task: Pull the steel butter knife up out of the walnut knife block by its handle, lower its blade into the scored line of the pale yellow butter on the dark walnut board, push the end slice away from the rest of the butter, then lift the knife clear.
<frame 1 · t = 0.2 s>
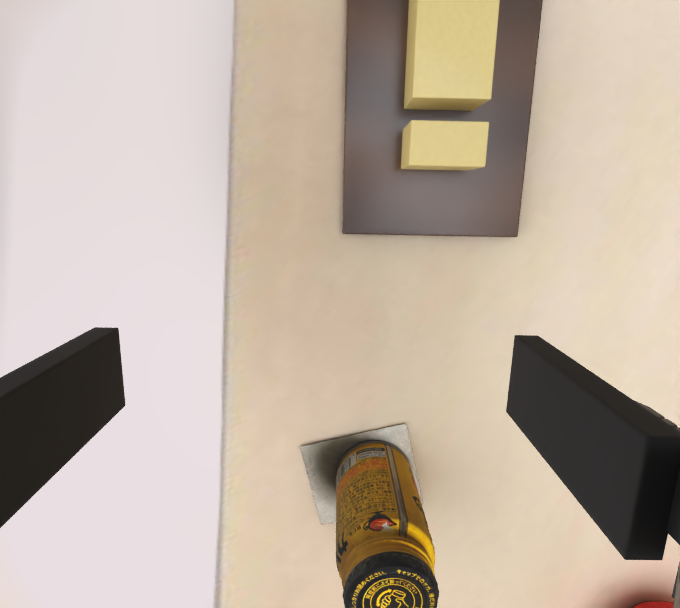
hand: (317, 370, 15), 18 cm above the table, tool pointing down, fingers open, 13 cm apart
butter board: (435, 113, 30), on the table
butter slice: (435, 150, 30), point 1 cm above the table, touching butter board
butter block: (442, 50, 28), point 1 cm above the table, touching butter board
condiment: (362, 472, 36), on the table
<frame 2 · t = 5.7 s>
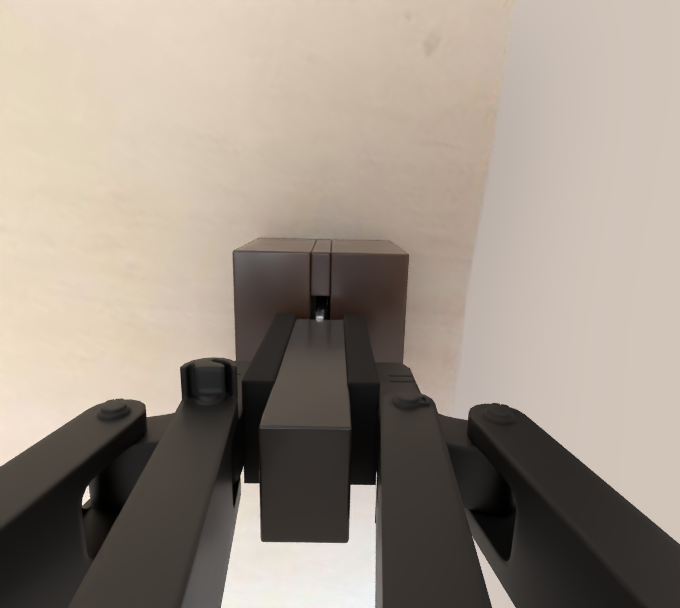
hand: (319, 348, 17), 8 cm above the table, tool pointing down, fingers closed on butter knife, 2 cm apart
knife block: (323, 304, 25), on the table
butter knife: (319, 353, 17), in the knife block, touching gripper
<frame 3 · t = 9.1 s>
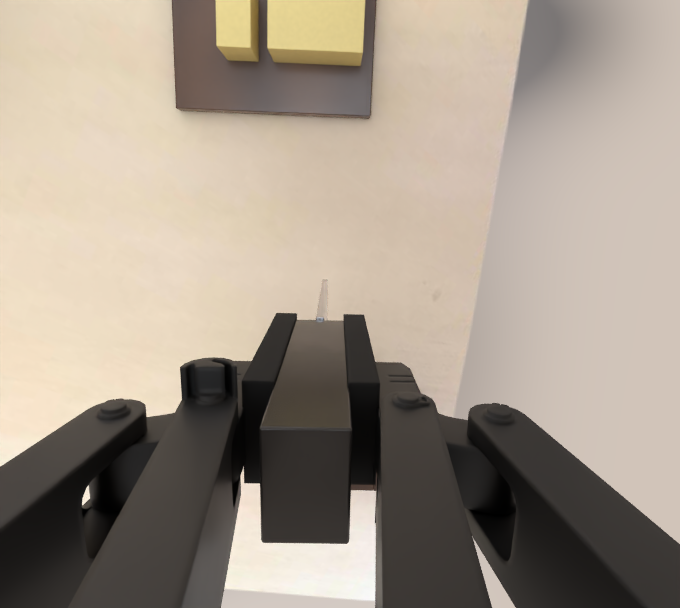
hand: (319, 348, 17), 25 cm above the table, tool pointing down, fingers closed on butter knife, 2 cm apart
butter board: (275, 36, 37), on the table
butter slice: (242, 30, 36), point 1 cm above the table, touching butter board
butter block: (317, 33, 36), point 1 cm above the table, touching butter board
butter knife: (319, 353, 17), point 25 cm above the table, touching gripper
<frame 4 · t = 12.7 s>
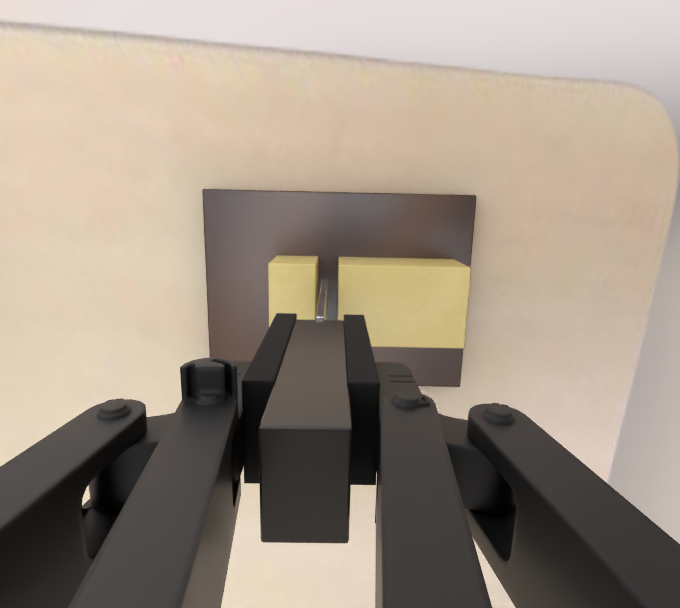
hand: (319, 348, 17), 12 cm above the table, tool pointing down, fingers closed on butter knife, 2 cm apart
butter board: (337, 290, 29), on the table
butter slice: (297, 292, 28), point 1 cm above the table, touching butter board
butter block: (394, 294, 28), point 1 cm above the table, touching butter board
butter knife: (319, 353, 17), point 12 cm above the table, touching gripper
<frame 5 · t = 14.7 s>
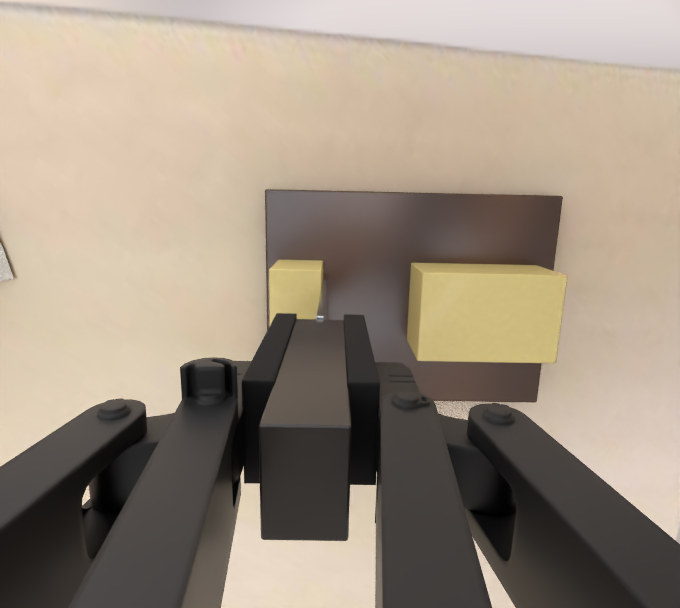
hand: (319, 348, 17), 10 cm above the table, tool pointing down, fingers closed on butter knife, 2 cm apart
butter board: (406, 298, 27), on the table
butter slice: (300, 299, 26), point 1 cm above the table, touching butter board
butter block: (470, 303, 26), point 1 cm above the table, touching butter board
butter knife: (319, 352, 17), point 10 cm above the table, touching gripper
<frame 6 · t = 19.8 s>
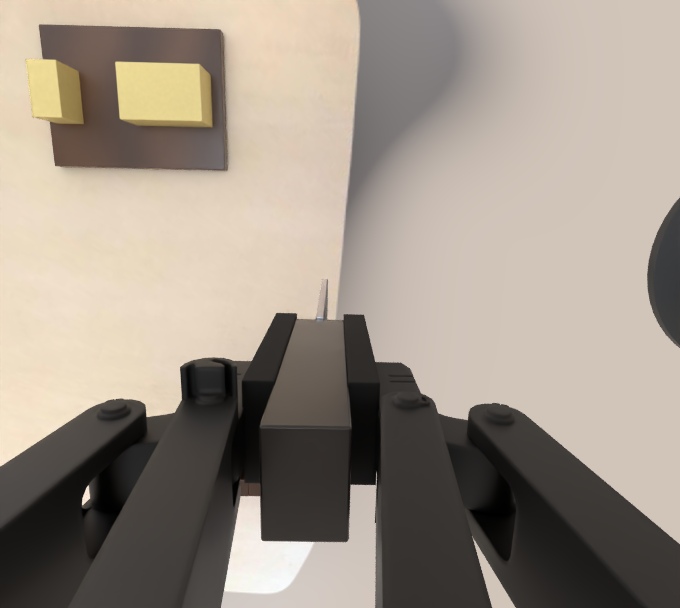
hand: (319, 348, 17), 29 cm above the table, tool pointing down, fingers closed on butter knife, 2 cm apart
butter board: (139, 101, 43), on the table
butter slice: (67, 97, 41), point 1 cm above the table, touching butter board
butter block: (173, 100, 42), point 1 cm above the table, touching butter board
butter knife: (319, 353, 17), point 30 cm above the table, touching gripper
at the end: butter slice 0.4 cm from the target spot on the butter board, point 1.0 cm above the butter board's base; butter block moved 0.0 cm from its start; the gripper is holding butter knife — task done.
